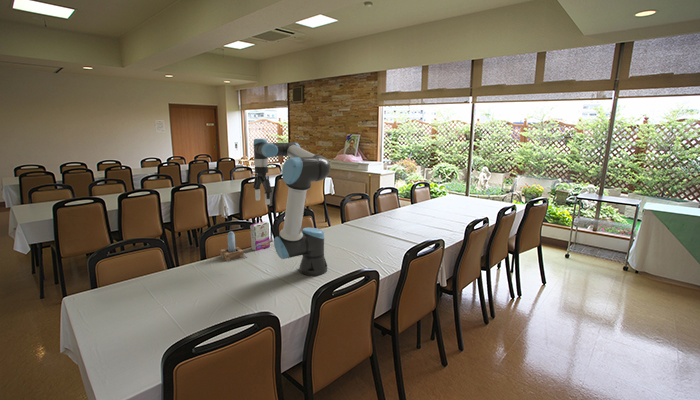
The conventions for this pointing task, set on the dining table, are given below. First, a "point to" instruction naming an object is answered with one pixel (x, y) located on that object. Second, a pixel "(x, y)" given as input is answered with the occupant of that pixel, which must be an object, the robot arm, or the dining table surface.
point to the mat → (237, 259)
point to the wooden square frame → (232, 254)
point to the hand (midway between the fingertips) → (262, 202)
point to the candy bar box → (260, 236)
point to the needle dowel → (231, 242)
